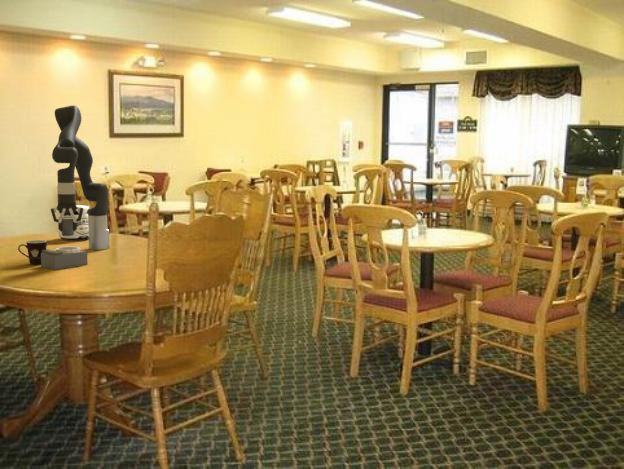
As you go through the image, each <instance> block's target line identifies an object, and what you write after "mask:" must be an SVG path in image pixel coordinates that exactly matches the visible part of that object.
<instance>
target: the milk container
mask: <svg viewBox="0 0 624 469" xmlns="http://www.w3.org/2000/svg"><path fill="white" fill-rule="evenodd" d="M76 206H77V207H80V208H81V207H82V208H83V213H82V217H81V221H78V222H77V230H75V231H74V235H73V237H72V238H63V237H62V232H60V230H59V229H57V230H58V237H59V238H60V239H62V240H66V241H81V240H88V239H89V230H88V210H89V209H90V206H88V205H82V204H81V205H77V204H76ZM58 213H59V216H58V217H60V214H61V213H60V212H59V211H58ZM78 215H79V212H78V210H77V209H76V211H75V212H74V216H75V218H76V219H77V218H78ZM67 216H68V215H67ZM63 217H64V216H63ZM73 222H74V221H73ZM61 223H62V221H61Z"/></svg>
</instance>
